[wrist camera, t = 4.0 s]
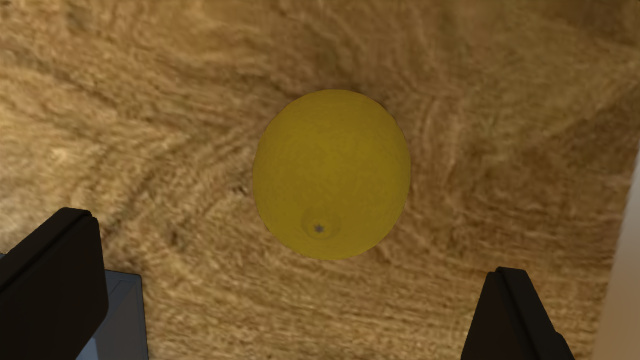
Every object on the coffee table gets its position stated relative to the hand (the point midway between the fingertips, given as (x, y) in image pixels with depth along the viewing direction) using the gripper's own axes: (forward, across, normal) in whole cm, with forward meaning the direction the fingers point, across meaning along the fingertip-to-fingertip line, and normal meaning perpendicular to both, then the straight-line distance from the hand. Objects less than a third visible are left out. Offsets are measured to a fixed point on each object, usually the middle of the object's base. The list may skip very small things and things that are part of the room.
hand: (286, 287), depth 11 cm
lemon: (+10, -1, 0) cm, 11 cm away
